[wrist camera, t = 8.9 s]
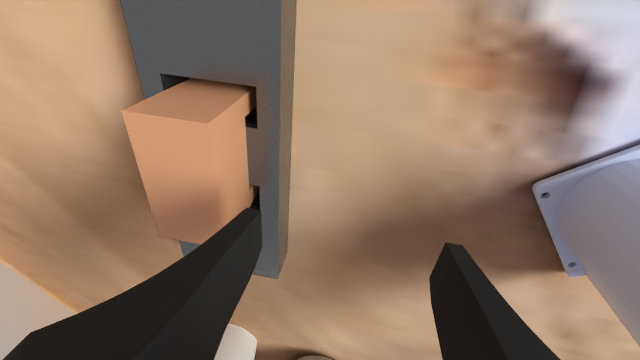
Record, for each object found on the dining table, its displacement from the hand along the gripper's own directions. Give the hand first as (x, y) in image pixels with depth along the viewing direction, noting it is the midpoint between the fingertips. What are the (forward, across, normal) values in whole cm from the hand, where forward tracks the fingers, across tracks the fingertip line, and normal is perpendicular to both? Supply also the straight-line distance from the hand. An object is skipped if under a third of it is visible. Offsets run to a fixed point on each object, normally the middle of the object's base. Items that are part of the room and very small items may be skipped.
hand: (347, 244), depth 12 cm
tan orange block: (+9, +9, +1) cm, 13 cm away
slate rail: (+9, +9, +1) cm, 13 cm away
